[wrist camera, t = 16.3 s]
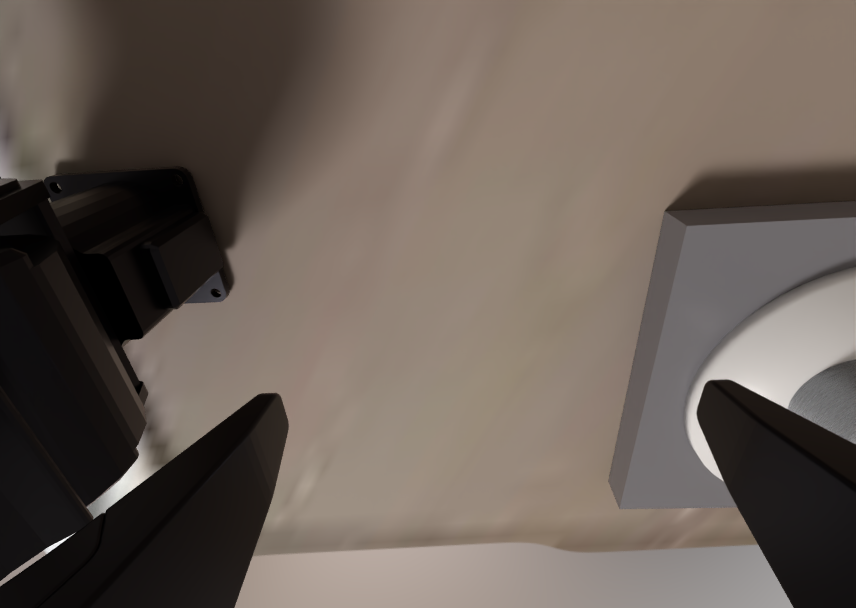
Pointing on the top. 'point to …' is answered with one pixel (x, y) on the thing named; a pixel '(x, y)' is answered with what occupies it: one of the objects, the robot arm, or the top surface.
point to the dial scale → (730, 334)
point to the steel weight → (830, 400)
